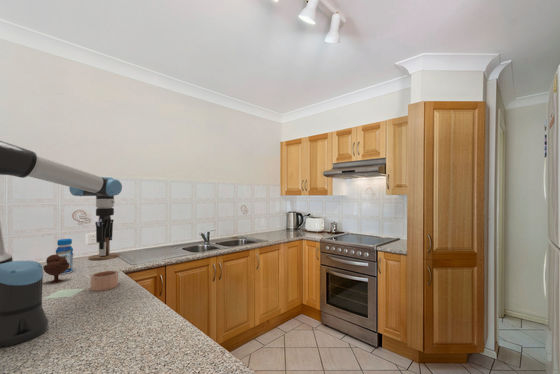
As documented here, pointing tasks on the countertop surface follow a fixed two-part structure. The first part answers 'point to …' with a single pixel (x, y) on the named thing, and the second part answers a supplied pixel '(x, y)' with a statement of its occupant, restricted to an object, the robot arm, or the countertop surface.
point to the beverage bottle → (66, 252)
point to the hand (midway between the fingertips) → (104, 254)
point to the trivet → (64, 293)
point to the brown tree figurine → (56, 266)
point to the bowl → (104, 280)
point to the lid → (107, 256)
